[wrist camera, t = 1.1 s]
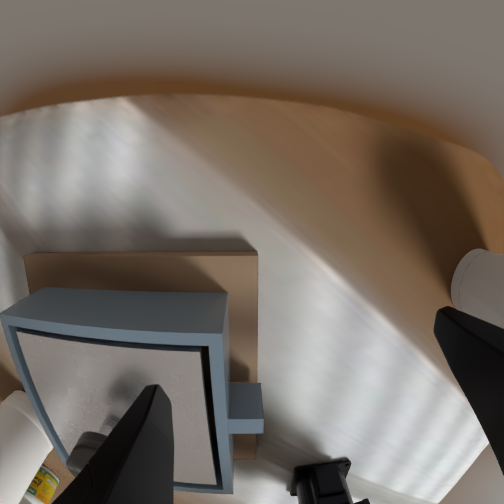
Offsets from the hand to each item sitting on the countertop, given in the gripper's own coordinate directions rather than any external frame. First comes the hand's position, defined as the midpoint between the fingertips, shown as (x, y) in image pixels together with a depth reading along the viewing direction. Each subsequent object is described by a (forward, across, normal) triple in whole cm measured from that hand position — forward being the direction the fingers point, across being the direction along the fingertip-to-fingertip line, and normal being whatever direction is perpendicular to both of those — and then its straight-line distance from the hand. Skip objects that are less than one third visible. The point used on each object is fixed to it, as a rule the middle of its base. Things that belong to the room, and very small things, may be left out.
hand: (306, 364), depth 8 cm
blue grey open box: (+10, +11, +9) cm, 18 cm away
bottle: (+10, +31, +15) cm, 36 cm away
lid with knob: (+5, +12, +8) cm, 15 cm away
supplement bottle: (+7, +41, +28) cm, 50 cm away
